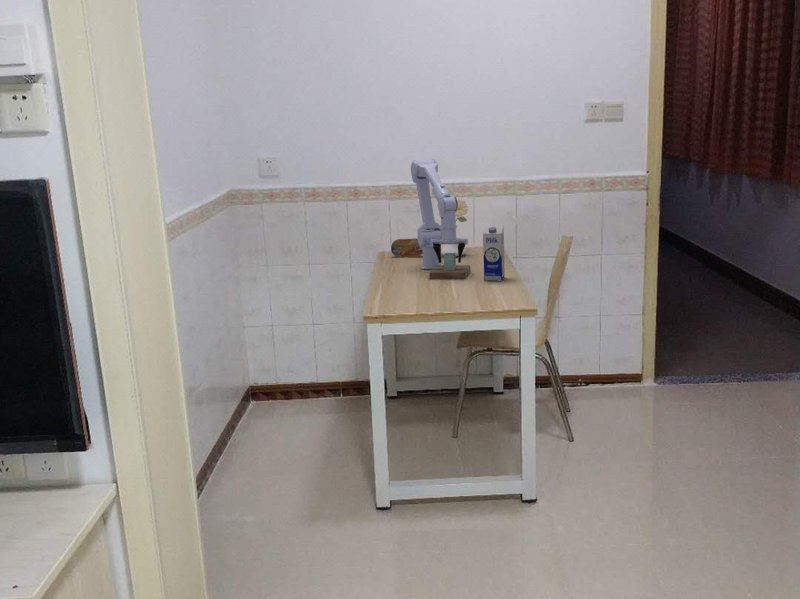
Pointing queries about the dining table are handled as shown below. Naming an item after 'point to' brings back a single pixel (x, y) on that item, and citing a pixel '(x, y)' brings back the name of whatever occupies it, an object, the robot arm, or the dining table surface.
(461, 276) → the walnut base
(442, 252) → the flower in vase
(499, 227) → the milk carton
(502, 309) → the dining table surface
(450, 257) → the teal block
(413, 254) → the tin
